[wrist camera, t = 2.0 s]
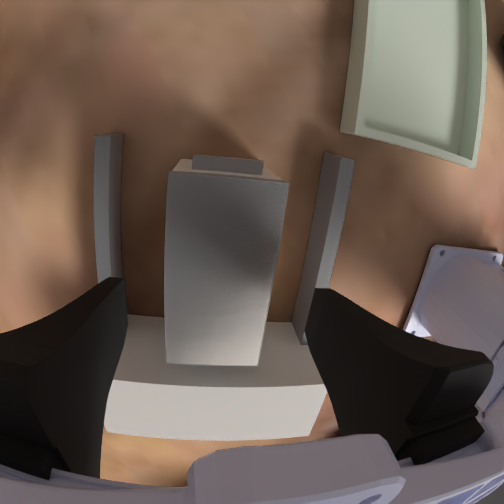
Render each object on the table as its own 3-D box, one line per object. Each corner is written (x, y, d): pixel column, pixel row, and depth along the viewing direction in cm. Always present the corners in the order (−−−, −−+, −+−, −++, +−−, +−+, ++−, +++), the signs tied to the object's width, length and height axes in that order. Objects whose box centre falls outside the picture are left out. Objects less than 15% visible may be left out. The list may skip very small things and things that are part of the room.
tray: (466, -4, 13) (483, -9, 11) (456, 164, 18) (475, 169, 17) (357, -59, 12) (370, -71, 10) (339, 132, 17) (354, 134, 15)
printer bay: (336, 154, 17) (391, 171, 12) (288, 374, 23) (308, 435, 18) (110, 133, 15) (64, 140, 10) (121, 368, 21) (106, 431, 16)
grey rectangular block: (266, 155, 17) (291, 169, 12) (245, 308, 21) (258, 366, 16) (181, 147, 16) (169, 158, 11) (173, 304, 20) (166, 363, 15)
